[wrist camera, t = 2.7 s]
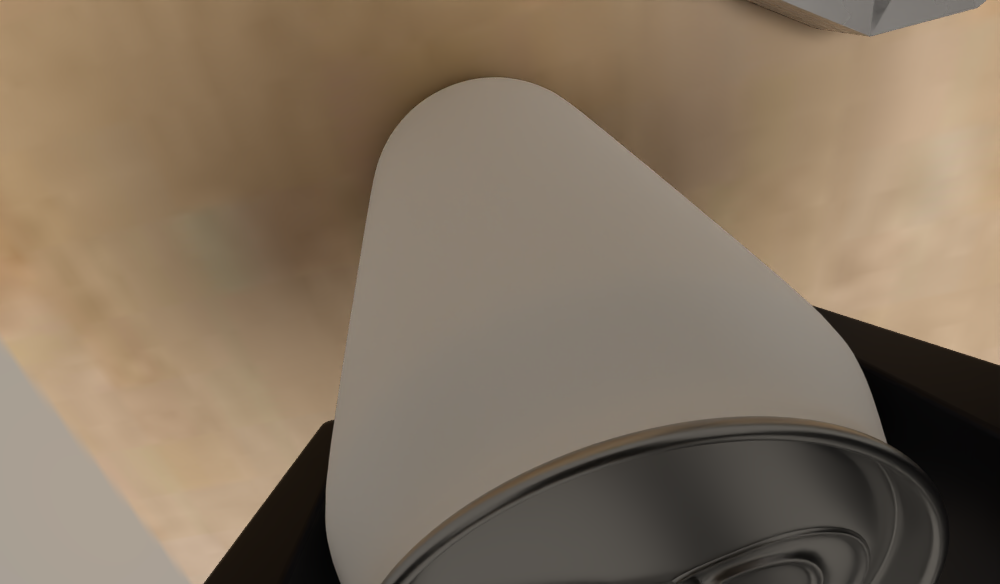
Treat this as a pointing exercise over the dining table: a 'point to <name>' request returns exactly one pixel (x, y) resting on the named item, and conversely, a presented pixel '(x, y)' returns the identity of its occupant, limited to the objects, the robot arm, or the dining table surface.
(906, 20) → the shaft seat
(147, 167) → the dining table surface
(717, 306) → the can
